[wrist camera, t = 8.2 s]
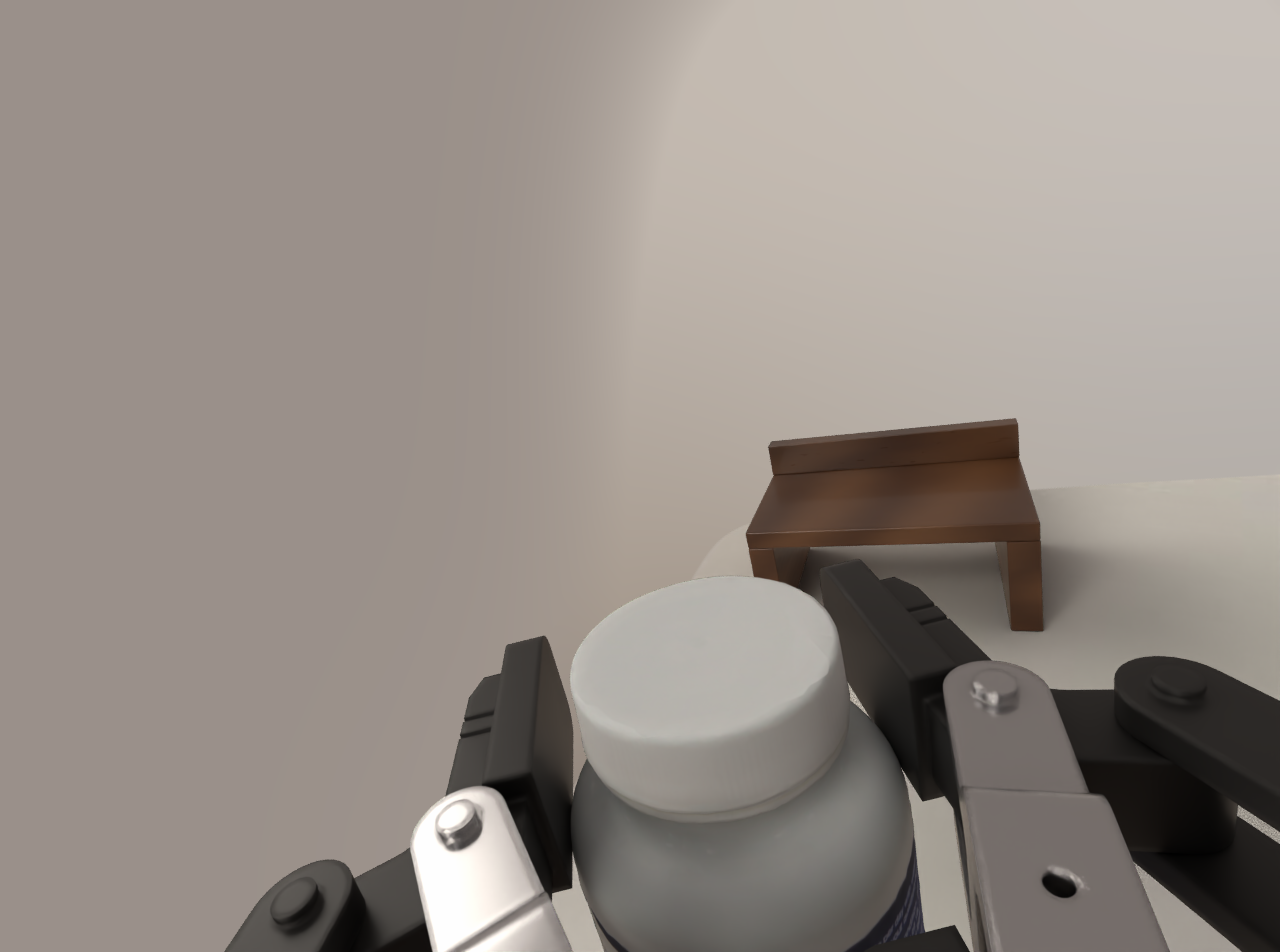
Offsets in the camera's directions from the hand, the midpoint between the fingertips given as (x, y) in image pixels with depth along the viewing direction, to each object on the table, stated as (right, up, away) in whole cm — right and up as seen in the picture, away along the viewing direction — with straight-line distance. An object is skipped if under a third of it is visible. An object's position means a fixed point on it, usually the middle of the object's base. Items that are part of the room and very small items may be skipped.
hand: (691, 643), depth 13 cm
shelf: (+14, -3, +27) cm, 30 cm away
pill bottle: (+2, -8, 0) cm, 9 cm away
